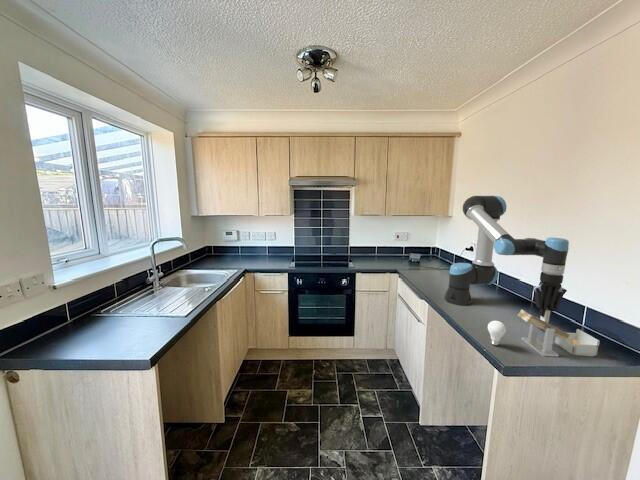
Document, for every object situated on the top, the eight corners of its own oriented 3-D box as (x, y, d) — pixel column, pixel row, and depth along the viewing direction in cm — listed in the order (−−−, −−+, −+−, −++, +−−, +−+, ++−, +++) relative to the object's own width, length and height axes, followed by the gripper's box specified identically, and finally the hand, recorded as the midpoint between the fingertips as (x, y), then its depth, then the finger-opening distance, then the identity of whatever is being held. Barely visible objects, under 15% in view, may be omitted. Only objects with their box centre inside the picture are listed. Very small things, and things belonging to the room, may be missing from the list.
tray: (554, 342, 117) (556, 327, 116) (575, 343, 117) (578, 329, 115) (572, 355, 108) (575, 339, 107) (596, 356, 107) (599, 340, 106)
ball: (578, 340, 113) (573, 346, 114) (571, 337, 113) (567, 343, 114) (584, 344, 110) (580, 350, 111) (577, 341, 110) (573, 347, 111)
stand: (521, 338, 120) (524, 315, 118) (535, 339, 120) (538, 316, 118) (542, 355, 107) (546, 329, 105) (558, 356, 107) (562, 330, 105)
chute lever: (505, 310, 122) (510, 302, 122) (540, 326, 122) (545, 318, 122) (525, 324, 109) (531, 315, 108) (565, 342, 109) (571, 334, 108)
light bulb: (485, 345, 114) (488, 322, 112) (485, 339, 120) (488, 316, 118) (503, 350, 111) (507, 326, 109) (503, 343, 116) (506, 320, 114)
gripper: (542, 274, 112) (534, 326, 116) (575, 276, 111) (566, 327, 115) (530, 270, 119) (522, 318, 123) (561, 271, 118) (552, 319, 122)
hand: (543, 322), depth 119 cm, fingers closed
